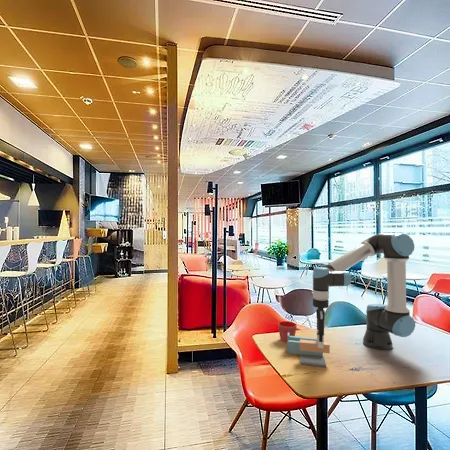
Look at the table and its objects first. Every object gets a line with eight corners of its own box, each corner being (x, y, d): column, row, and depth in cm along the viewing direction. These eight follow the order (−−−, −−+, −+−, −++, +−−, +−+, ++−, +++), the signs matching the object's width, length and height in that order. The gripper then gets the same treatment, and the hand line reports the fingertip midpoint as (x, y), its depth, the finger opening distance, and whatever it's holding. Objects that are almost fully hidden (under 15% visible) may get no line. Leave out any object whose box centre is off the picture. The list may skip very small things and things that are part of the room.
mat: (324, 358, 151) (324, 357, 151) (326, 367, 141) (326, 366, 141) (299, 356, 153) (300, 354, 153) (300, 364, 144) (300, 363, 144)
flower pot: (291, 345, 168) (292, 328, 168) (274, 340, 175) (274, 324, 175) (299, 339, 176) (299, 323, 177) (282, 335, 183) (282, 319, 183)
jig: (321, 350, 162) (321, 334, 162) (322, 356, 153) (322, 340, 153) (287, 346, 166) (287, 331, 166) (287, 353, 157) (287, 336, 157)
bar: (328, 350, 147) (328, 342, 148) (329, 353, 144) (329, 345, 144) (299, 347, 151) (299, 339, 151) (299, 350, 147) (299, 342, 147)
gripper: (311, 294, 156) (311, 339, 156) (313, 302, 139) (313, 352, 139) (326, 295, 154) (326, 340, 154) (330, 303, 138) (330, 353, 137)
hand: (320, 345), depth 147 cm, fingers closed on bar, 4 cm apart
